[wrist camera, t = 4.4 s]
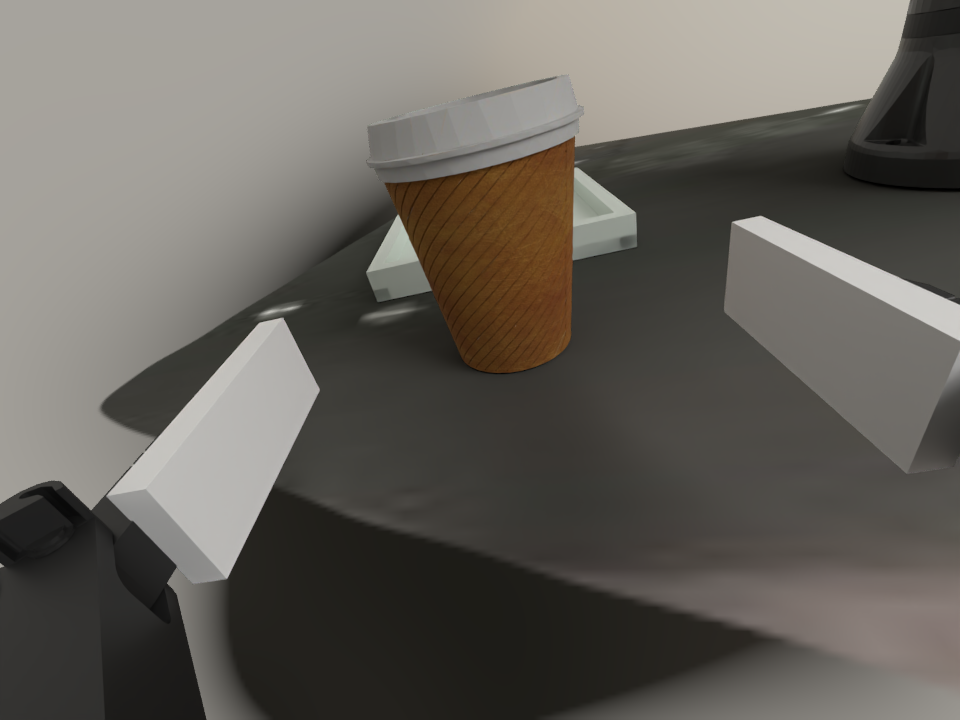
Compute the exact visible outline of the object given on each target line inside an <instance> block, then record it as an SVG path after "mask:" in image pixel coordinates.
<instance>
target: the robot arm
mask: <svg viewBox="0 0 960 720" xmlns="http://www.w3.org/2000/svg"><path fill="white" fill-rule="evenodd" d="M843 168H844V171H845V172H846V173H847V174H849V175H851V176H853V177H855V178H858V179H861V180H865V181H869V182H874V183H880V184H887V185H896V186H906V187H922V188H960V0H910V3H909V8H908V11H907V17H906V21H905V25H904V29H903V34H902V38H901V41H900V45H899V49H898V52H897V54H896V57H895V59H894V61H893V62H892V64H891V66H890V68H889V70H888V72H887V73H886V75H885V77H884V78H883V80H882V82H881V84H880V86H879V87H878V89H877V91H876V93H875V95H874V96H873V98H872V100H871V102H870V103H869V105H868V107H867V109H866V110H865V112H864V114H863V116H862V118H861V119H860V121H859V123H858V125H857V126H856V128H855V130H854V132H853V134H852V135H851V137H850V140H849V143H848V147H847V152H846V156H845V161H844V166H843ZM724 312H725V313H726V314H728V315H729V316H730V317H731V318H732V319H733V320H734V321H735V322H737V323H738V324H739V325H740V326H741V327H742V328H743V329H744V330H746V331H747V332H748V333H749V334H750V335H751V336H752V337H753V338H755V339H756V340H757V341H758V342H759V343H760V344H761V345H762V346H764V347H765V348H766V349H767V350H768V351H769V352H770V353H771V354H773V355H774V356H775V357H776V358H777V359H778V360H779V361H780V362H782V363H783V364H784V365H785V366H786V367H787V368H788V369H789V370H791V371H792V372H793V373H794V374H795V375H796V376H797V377H798V378H800V379H801V380H802V381H803V382H804V383H805V384H806V385H807V386H809V387H810V388H811V389H812V390H813V391H814V392H815V393H817V394H818V395H819V396H820V397H821V398H822V399H823V400H824V401H826V402H827V403H828V404H829V405H830V406H831V407H832V408H833V409H835V410H836V411H837V412H838V413H839V414H840V415H841V416H842V417H844V418H845V419H846V420H847V421H848V422H849V423H850V424H851V425H853V426H854V427H855V428H856V429H857V430H858V431H859V432H860V433H862V434H863V435H864V436H865V437H866V438H867V439H868V440H869V441H871V442H872V443H873V444H874V445H875V446H876V447H877V448H878V449H880V450H881V451H882V452H883V453H884V454H885V455H886V456H887V457H889V458H890V459H891V460H892V461H893V462H894V463H895V464H896V465H898V466H899V467H900V468H901V469H902V470H903V471H904V472H905V473H907V474H909V473H916V472H922V471H929V470H935V469H942V468H948V467H954V465H955V463H956V461H957V459H958V457H959V455H960V298H956V299H955V297H954V295H952V294H950V293H947V292H945V291H943V290H940V289H938V288H936V287H934V286H931V285H929V284H924V283H920V282H916V281H911V280H907V279H903V278H898V277H896V276H894V275H892V274H890V273H887V272H885V271H883V270H881V269H878V268H876V267H874V266H872V265H869V264H867V263H865V262H863V261H860V260H858V259H856V258H854V257H852V256H849V255H847V254H845V253H843V252H840V251H838V250H836V249H834V248H831V247H829V246H827V245H825V244H823V243H820V242H818V241H816V240H814V239H811V238H809V237H807V236H805V235H802V234H800V233H798V232H796V231H793V230H791V229H789V228H787V227H785V226H782V225H780V224H778V223H776V222H773V221H771V220H769V219H767V218H764V217H762V216H758V217H753V218H749V219H744V220H739V221H734V222H732V225H731V236H730V248H729V259H728V270H727V282H726V293H725V304H724ZM319 391H320V389H319V387H318V385H317V383H316V382H315V380H314V378H313V376H312V374H311V372H310V370H309V368H308V366H307V364H306V362H305V360H304V358H303V356H302V354H301V352H300V350H299V348H298V346H297V344H296V342H295V340H294V338H293V336H292V334H291V332H290V330H289V328H288V326H287V324H286V322H285V321H284V319H283V318H279V319H275V320H270V321H265V322H261V323H259V324H258V325H257V326H256V327H255V328H254V330H253V331H252V332H251V333H250V334H249V335H248V336H247V337H246V339H245V340H244V341H243V342H242V343H241V344H240V345H239V346H238V348H237V349H236V350H235V351H234V352H233V353H232V354H231V356H230V357H229V358H228V359H227V360H226V361H225V362H224V363H223V365H222V366H221V367H220V368H219V369H218V370H217V371H216V372H215V374H214V375H213V376H212V377H211V378H210V379H209V380H208V382H207V383H206V384H205V385H204V386H203V387H202V388H201V389H200V391H199V392H198V393H197V394H196V395H195V396H194V397H193V399H192V400H191V401H190V402H189V403H188V404H187V405H186V406H185V408H184V409H183V410H182V411H181V412H180V413H179V414H178V415H177V417H176V418H175V419H174V420H173V421H172V422H171V423H170V425H169V426H168V427H167V428H166V429H165V430H164V431H163V432H161V433H160V434H159V435H158V436H157V437H156V438H155V440H154V441H153V442H152V443H151V444H150V445H149V446H148V447H147V449H146V452H145V453H142V454H141V455H140V456H139V458H138V459H137V460H136V461H135V462H134V465H133V466H131V467H130V468H129V469H128V470H127V471H126V472H125V473H124V474H123V476H122V477H121V478H120V479H119V480H118V481H117V482H116V483H115V485H114V486H113V487H112V488H111V489H110V490H109V491H108V493H107V494H106V495H105V496H104V497H103V498H102V499H101V500H100V501H99V503H98V504H97V505H96V506H95V507H94V508H93V509H92V510H89V508H88V507H87V506H86V505H85V504H83V503H82V502H81V501H80V500H79V499H78V498H77V497H76V496H75V495H74V494H73V493H72V492H71V491H70V490H69V489H68V488H67V487H66V486H65V485H64V484H63V483H62V482H60V481H48V482H45V483H41V484H37V485H35V486H33V487H30V488H28V489H26V490H23V491H21V492H20V493H18V494H16V495H14V496H12V497H11V498H9V499H7V500H6V501H4V502H2V503H1V504H0V563H1V564H2V565H4V567H2V568H0V720H206V716H205V712H204V707H203V704H202V699H201V695H200V691H199V687H198V682H197V678H196V674H195V670H194V666H193V661H192V657H191V653H190V649H189V645H188V641H187V637H186V632H185V628H184V624H183V620H182V616H181V611H180V607H179V603H178V599H177V595H176V593H175V592H174V591H173V589H172V588H171V587H170V586H169V585H168V584H167V582H168V580H169V578H170V577H171V575H172V574H173V572H174V570H175V569H176V567H177V568H178V569H179V570H180V572H181V573H182V574H183V575H185V576H186V578H187V579H188V580H189V581H190V582H191V583H192V584H196V583H204V582H210V581H217V580H223V579H227V578H228V575H229V574H230V572H231V570H232V568H233V565H234V564H235V561H236V560H237V557H238V555H239V553H240V551H241V549H242V547H243V545H244V543H245V541H246V539H247V537H248V535H249V533H250V531H251V529H252V527H253V524H254V523H255V521H256V519H257V517H258V515H259V513H260V510H261V509H262V506H263V505H264V503H265V500H266V498H267V496H268V494H269V492H270V490H271V488H272V486H273V484H274V482H275V480H276V478H277V476H278V474H279V472H280V470H281V468H282V466H283V464H284V462H285V460H286V458H287V456H288V454H289V452H290V450H291V448H292V446H293V443H294V441H295V439H296V437H297V435H298V433H299V431H300V429H301V427H302V425H303V423H304V421H305V419H306V417H307V415H308V413H309V411H310V409H311V407H312V405H313V403H314V401H315V399H316V397H317V395H318V393H319Z"/></svg>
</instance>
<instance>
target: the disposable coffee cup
mask: <svg viewBox="0 0 960 720" xmlns="http://www.w3.org/2000/svg"><path fill="white" fill-rule="evenodd" d="M583 114H584V107H583V106H580V105H577V102H576V98H575V96H574V92H573V88H572V85H571V81H570V78H569V75H561V76H555V77H550V78H546V79H541V80H537V81H532V82H528V83H524V84H519V85H516V86H511V87H507V88H503V89H499V90H495V91H491V92H487V93H483V94H479V95H474V96H471V97H467V98H463V99H459V100H455V101H451V102H447V103H444V104H440V105H436V106H432V107H429V108H424V109H421V110H417V111H413V112H410V113H406V114H403V115H399V116H395V117H392V118H389V119H385V120H382V121H379V122H376V123H373V124H370V125H368V127H367V128H368V138H369V147H370V156H371V157H370V158H369V159H367V160H366V162H367V165H368V166H369V167H370V168H374V169H375V171H376V174H377V176H378V179H379V180H380V181H382V182H384V183H385V185H386V188H387V190H388V192H389V194H390V197H391V199H392V201H393V203H394V205H395V207H396V209H397V212H398V215H399V217H400V219H401V221H402V223H403V225H404V228H405V230H406V232H407V235H408V237H409V240H410V242H411V244H412V246H413V248H414V250H415V253H416V255H417V257H418V260H419V262H420V264H421V266H422V269H423V271H424V273H425V276H426V278H427V280H428V282H429V284H430V287H431V289H432V292H433V294H434V296H435V299H436V301H437V303H438V305H439V308H440V310H441V312H442V314H443V316H444V319H445V321H446V323H447V325H448V328H449V330H450V332H451V334H452V337H453V339H454V341H455V343H456V346H457V348H458V350H459V353H460V355H461V358H462V359H463V360H464V362H465V363H466V364H467V365H469V366H470V367H472V368H475V369H477V370H480V371H485V372H492V373H510V372H517V371H522V370H526V369H529V368H533V367H536V366H539V365H541V364H543V363H546V362H548V361H550V360H551V359H553V358H555V357H556V356H557V355H559V354H560V353H561V352H562V351H563V350H564V349H565V348H566V347H567V345H568V343H569V341H570V339H571V306H572V301H571V297H572V265H573V259H572V255H573V203H574V199H573V198H574V156H575V155H574V151H575V135H576V134H577V133H578V132H579V117H581V116H582V115H583Z"/></svg>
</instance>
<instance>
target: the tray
mask: <svg viewBox="0 0 960 720" xmlns="http://www.w3.org/2000/svg"><path fill="white" fill-rule="evenodd" d="M573 199H574V203H573V255H572V259H573V260H578V259H583V258H587V257H592V256H597V255H601V254H606V253H611V252H615V251H620V250H625V249H629V248H634V247H637V229H636V212H634V211H633V210H632V209H630V208H629V207H628V206H627V205H625V204H624V203H623V202H621V201H620V200H619V199H617V198H616V197H615V196H614V195H612V194H611V193H610V192H608V191H607V190H606V189H604V188H603V187H602V186H601V185H599V184H598V183H597V182H595V181H594V180H593V179H591V178H590V177H589V176H588V175H586V174H585V173H584V172H582V171H581V170H580V169H578V168H574V198H573ZM366 273H367V276H368V279H369V281H370V284H371V287H372V289H373V292H374V295H375V297H376V300H377V302H382V301H386V300H391V299H396V298H400V297H405V296H410V295H414V294H419V293H424V292H428V291H432V289H431V287H430V284H429V282H428V280H427V278H426V276H425V273H424V271H423V269H422V266H421V264H420V262H419V260H418V257H417V255H416V253H415V250H414V248H413V246H412V244H411V242H410V240H409V237H408V235H407V232H406V230H405V228H404V225H403V223H402V221H401V219H400V217H399V215H397V217H396V219H395V221H394V223H393V225H392V226H391V228H390V230H389V232H388V234H387V236H386V237H385V239H384V241H383V243H382V245H381V246H380V248H379V250H378V252H377V254H376V256H375V257H374V259H373V261H372V263H371V265H370V267H369V268H368V270H367V272H366Z"/></svg>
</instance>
